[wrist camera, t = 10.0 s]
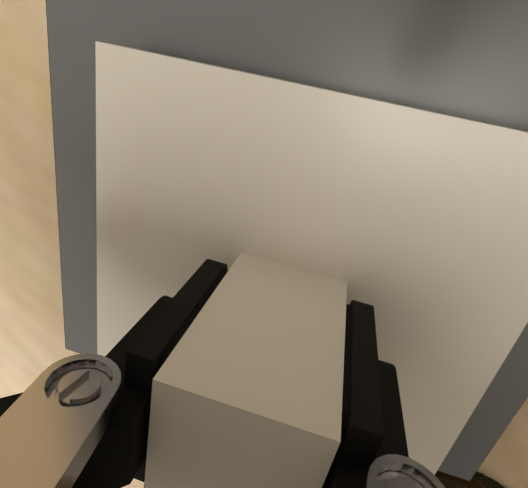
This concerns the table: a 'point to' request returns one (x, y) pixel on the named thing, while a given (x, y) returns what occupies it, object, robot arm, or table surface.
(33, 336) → the table surface
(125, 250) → the cover
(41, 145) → the table surface
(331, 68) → the base
